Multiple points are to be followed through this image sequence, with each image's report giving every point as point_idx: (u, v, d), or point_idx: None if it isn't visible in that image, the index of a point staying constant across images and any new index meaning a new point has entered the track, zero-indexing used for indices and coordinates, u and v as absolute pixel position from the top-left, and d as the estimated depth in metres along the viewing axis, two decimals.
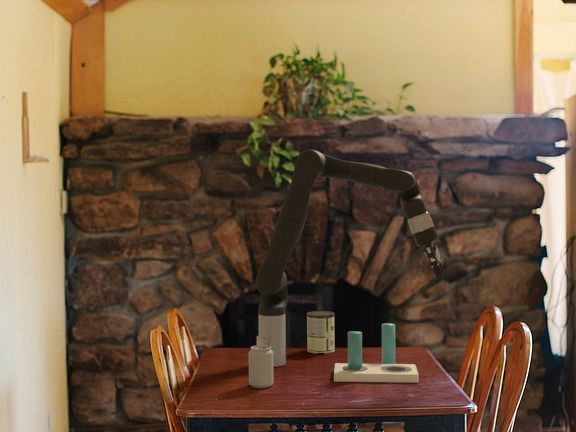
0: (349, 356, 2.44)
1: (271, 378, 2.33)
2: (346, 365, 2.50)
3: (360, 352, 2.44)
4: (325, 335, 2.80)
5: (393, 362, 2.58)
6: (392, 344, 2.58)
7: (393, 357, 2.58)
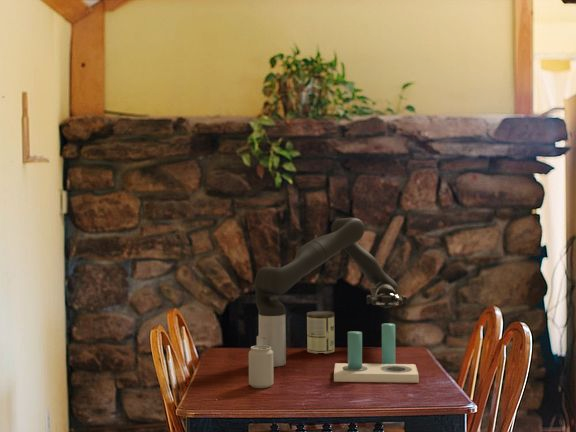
0: (349, 356, 2.44)
1: (271, 378, 2.33)
2: (346, 365, 2.50)
3: (360, 352, 2.44)
4: (325, 335, 2.80)
5: (393, 362, 2.58)
6: (392, 344, 2.58)
7: (393, 357, 2.58)
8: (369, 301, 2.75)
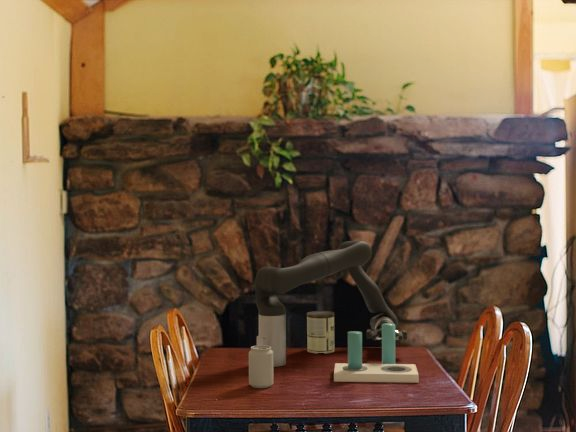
0: (349, 356, 2.44)
1: (271, 378, 2.33)
2: (346, 365, 2.50)
3: (360, 352, 2.44)
4: (325, 335, 2.80)
5: (393, 362, 2.58)
6: (392, 344, 2.58)
7: (393, 357, 2.58)
8: (369, 336, 2.72)
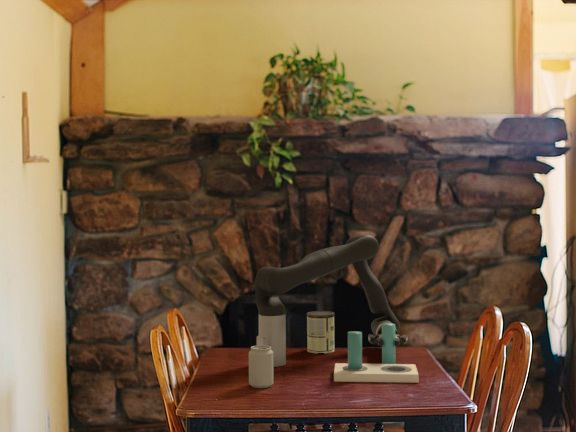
0: (349, 356, 2.44)
1: (271, 378, 2.33)
2: (346, 365, 2.50)
3: (360, 352, 2.44)
4: (325, 335, 2.80)
5: (393, 362, 2.58)
6: (392, 344, 2.58)
7: (393, 357, 2.58)
8: (375, 341, 2.62)
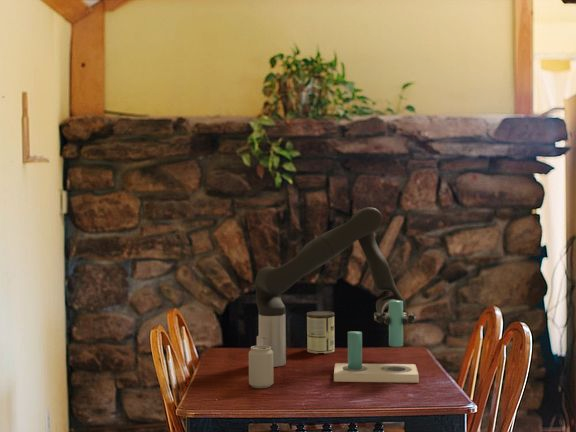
0: (349, 356, 2.44)
1: (271, 378, 2.33)
2: (346, 365, 2.50)
3: (360, 352, 2.44)
4: (325, 335, 2.80)
5: (401, 341, 2.43)
6: (399, 322, 2.43)
7: (401, 336, 2.43)
8: (381, 320, 2.47)
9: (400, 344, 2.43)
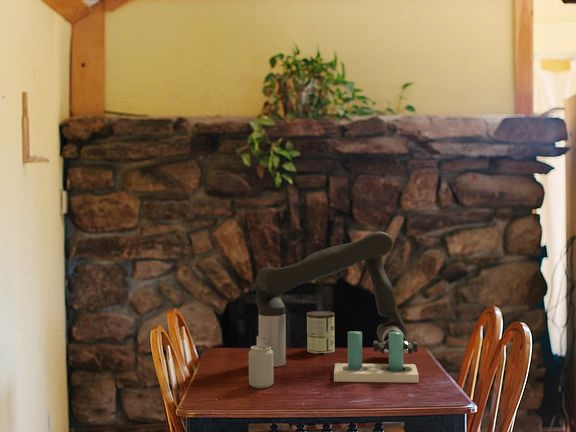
0: (349, 356, 2.44)
1: (271, 378, 2.33)
2: (346, 365, 2.50)
3: (360, 352, 2.44)
4: (325, 335, 2.80)
5: None
6: (399, 354, 2.42)
7: (401, 368, 2.43)
8: (376, 348, 2.47)
9: None
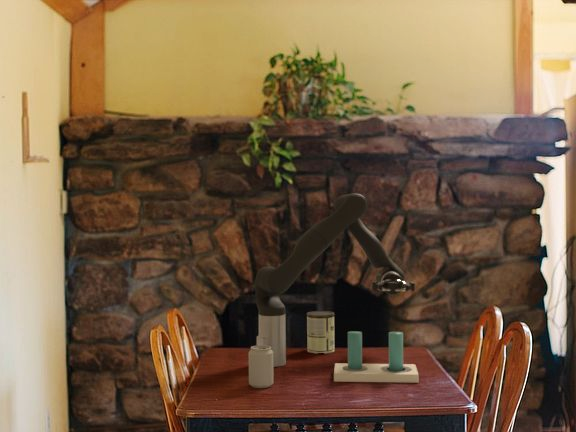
0: (349, 356, 2.44)
1: (271, 378, 2.33)
2: (346, 365, 2.50)
3: (360, 352, 2.44)
4: (325, 335, 2.80)
5: None
6: (399, 354, 2.42)
7: (401, 368, 2.43)
8: (374, 286, 2.59)
9: None
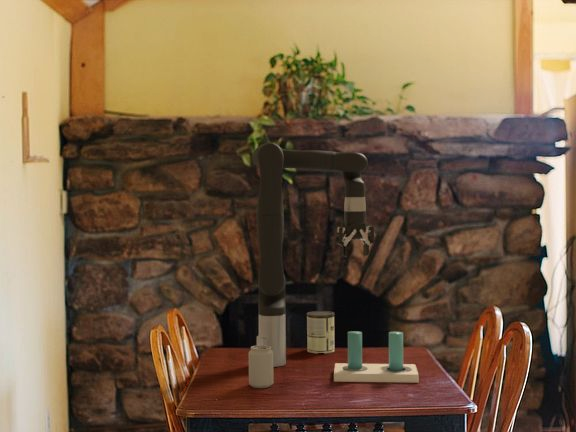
0: (349, 356, 2.44)
1: (271, 378, 2.33)
2: (346, 365, 2.50)
3: (360, 352, 2.44)
4: (325, 335, 2.80)
5: None
6: (399, 354, 2.42)
7: (401, 368, 2.43)
8: (339, 244, 2.68)
9: None
